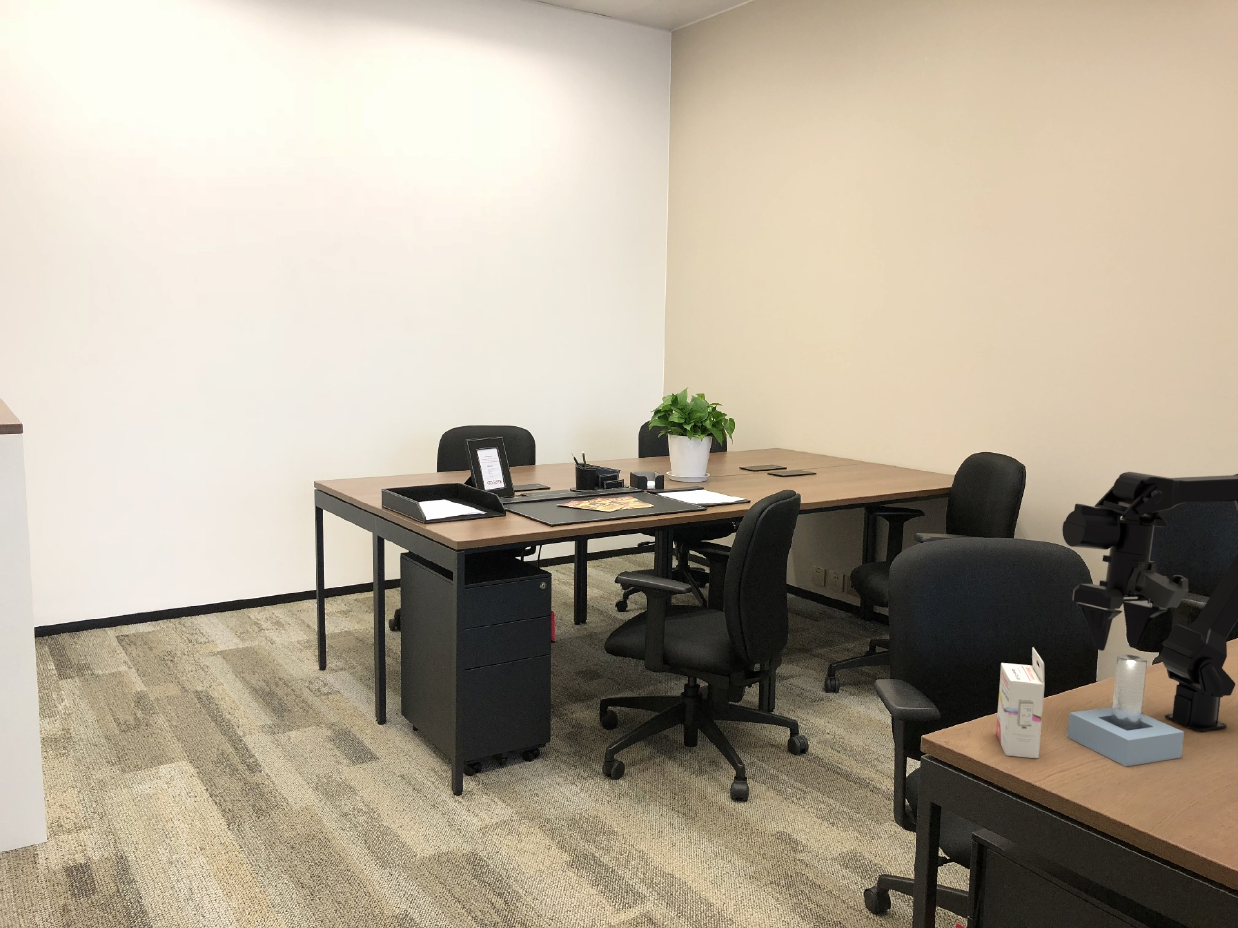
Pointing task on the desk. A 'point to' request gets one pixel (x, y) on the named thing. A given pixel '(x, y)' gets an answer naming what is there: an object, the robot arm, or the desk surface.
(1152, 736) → the bracket block
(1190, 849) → the desk surface
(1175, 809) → the desk surface
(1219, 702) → the robot arm
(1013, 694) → the ink cartridge box
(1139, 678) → the silver tall cylinder
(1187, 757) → the desk surface
